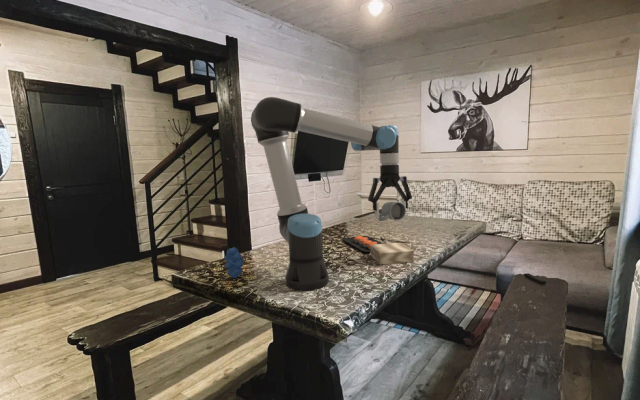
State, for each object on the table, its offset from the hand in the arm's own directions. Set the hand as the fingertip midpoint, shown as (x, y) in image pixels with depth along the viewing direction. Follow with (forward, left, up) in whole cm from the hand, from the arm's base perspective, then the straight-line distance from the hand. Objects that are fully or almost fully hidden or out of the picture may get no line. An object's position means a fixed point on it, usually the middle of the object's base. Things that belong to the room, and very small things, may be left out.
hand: (390, 217), depth 138 cm
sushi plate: (+4, +25, -18) cm, 31 cm away
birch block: (0, 0, -18) cm, 18 cm away
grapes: (-63, -6, -18) cm, 66 cm away
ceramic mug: (0, 0, -1) cm, 1 cm away
